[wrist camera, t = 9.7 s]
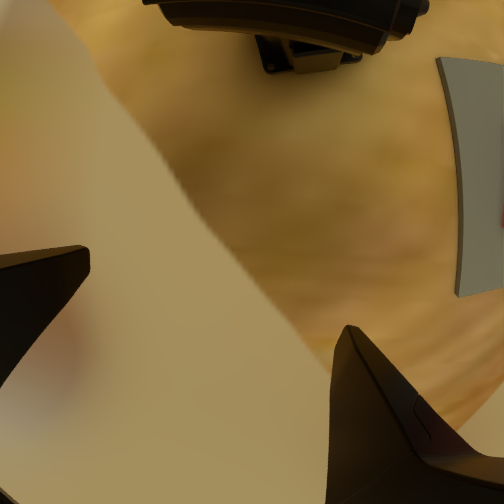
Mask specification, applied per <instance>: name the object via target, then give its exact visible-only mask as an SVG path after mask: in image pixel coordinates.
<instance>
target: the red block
mask: <svg viewBox="0 0 504 504" xmlns="http://www.w3.org/2000/svg"><path fill="white" fill-rule="evenodd" d="M501 227H502V228H504V206H503V215H502V222H501Z"/></svg>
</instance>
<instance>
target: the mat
mask: <svg viewBox="0 0 504 504" xmlns="http://www.w3.org/2000/svg"><path fill="white" fill-rule="evenodd" d="M436 62H437V65H438V69H439V72H440V76H441V80H442V84H443V88H444V92H445V97H446V102H447V106H448V112H449V117H450V123H451V129H452V135H453V142H454V150H455V159H456V169H457V182H458V202H459V242H458V262H457V275H456V286H455V294H456V296H457V297H458V298H461V297H465V296H470V295H474V294H478V293H482V292H486V291H490V290H494V289H498V288H502V287H504V228H502V227H501V222H502V215H503V206H504V65H501V64H495V63H490V62H483V61H476V60H469V59H460V58H450V57H439V58H437V59H436Z"/></svg>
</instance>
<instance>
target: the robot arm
mask: <svg viewBox="0 0 504 504" xmlns="http://www.w3.org/2000/svg"><path fill="white" fill-rule="evenodd" d="M142 2H143V4H144V5H150V4H157V5H158V7H159V9H160V10H161V12H162V14H163V16H164V17H165V18H166V19H167V20H168V21H169V22H170V23H171V24H172V25H173V26H182V27H184V28H187V29H191V30H205V31H225V32H238V33H248V34H255V37H256V41H257V44H258V48H259V52H260V56H261V60H262V64H263V68H264V70H265V71H266V73H268V74H270V75H274V74H279V73H284V72H290V71H294V72H296V73H297V74H305V73H312V72H319V71H326V70H334V69H336V68H337V67H338V65H339V64H349V63H358V62H359V61H361V59H362V53H365V54H369V55H374V54H376V53H379V52H380V51H381V49H382V48H383V46H384V44H385V42H386V41H399V40H401V39H403V37H404V36H405V35H409V34H410V33H411V32H412V29H413V26H414V23H415V20H416V17H419V16H421V15H424V14H426V13H427V12H428V9H429V0H142ZM351 54H353V55H356V56H358V58H354V57H352V55H351ZM271 64H272V65H275V68H274V69H273V70H269V69H268V66H269V65H271ZM89 273H90V251H89V249H88V248H87V247H85V246H82V245H73V246H65V247H57V248H49V249H42V250H33V251H26V252H18V253H12V254H4V255H0V388H1V386H2V385H3V382H5V380H6V379H7V378H8V376H9V375H10V373H11V372H12V371H13V369H14V368H15V367H16V365H17V364H18V363H19V361H20V360H21V359H22V357H23V356H24V355H25V354H26V352H27V351H28V350H29V348H30V347H31V346H32V344H33V343H34V342H35V341H36V340H37V338H38V337H39V336H40V335H41V333H42V332H43V331H44V330H45V329H46V327H47V326H48V325H49V324H50V323H51V322H52V320H53V319H54V318H55V317H56V316H57V314H58V313H59V312H60V311H61V310H62V309H63V308H64V306H65V305H66V304H67V303H68V302H69V300H70V299H71V298H72V296H73V295H74V293H75V292H76V291H77V289H78V288H79V287H80V285H81V284H82V283H83V281H84V280H85V279H86V277H87V276H88V275H89ZM418 394H419V393H418V392H417V391H416V390H415V388H414V387H413V386H412V385H411V384H410V383H409V382H408V381H407V380H406V378H405V377H404V376H403V375H402V374H401V373H400V372H399V371H398V370H397V368H396V367H395V366H394V365H393V364H392V363H391V362H390V361H389V360H388V359H387V357H386V356H385V355H384V354H383V353H382V352H381V351H380V350H379V349H378V348H377V347H376V346H375V344H374V343H373V342H372V341H371V340H370V339H369V338H368V337H367V336H366V335H365V334H364V333H363V331H362V330H361V329H360V328H359V327H356V326H352V325H346V326H345V327H344V329H343V331H342V333H341V335H340V337H339V339H338V341H337V344H336V346H335V350H334V358H333V367H332V376H331V384H330V417H329V418H330V419H329V453H328V473H327V489H326V500H325V501H326V502H325V504H504V458H500V457H491V456H486V455H483V454H481V453H479V452H477V451H476V450H474V449H473V448H472V447H471V446H470V445H469V444H468V443H466V441H465V440H464V439H463V438H462V437H461V436H459V435H458V434H457V433H456V432H455V431H454V430H453V429H452V428H451V427H450V426H449V425H448V424H447V423H446V422H445V421H444V420H443V419H442V418H441V417H440V416H439V415H438V414H437V413H436V412H435V411H434V410H433V409H432V407H431V406H430V405H429V404H428V403H427V402H426V401H425V400H424V399H423V397H422V396H421V395H418ZM0 504H19V503H18V502H16V501H15V500H14V499H13V498H12V497H11V496H10V495H8V494H7V493H6V492H5V491H4V490H3V489H2V488H1V487H0Z"/></svg>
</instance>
